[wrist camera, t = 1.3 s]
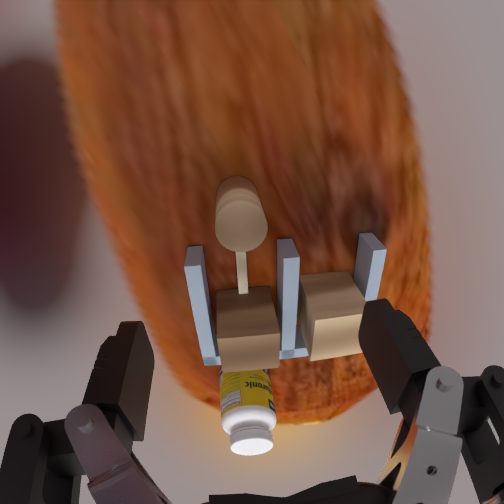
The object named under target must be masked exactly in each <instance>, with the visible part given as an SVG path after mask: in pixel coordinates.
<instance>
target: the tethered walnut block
mask: <svg viewBox="0 0 504 504" xmlns="http://www.w3.org/2000/svg"><path fill="white" fill-rule="evenodd" d="M267 230H268V226H267V221H266V218H265V215H264V212H263V209H262V206H261V203H260V200H259V197H258V194H257V191H256V188H255V186H254V184H253V183H252V182H251V181H250V180H249V179H247V178H245V177H242V176H232V177H229V178H227V179H225V180H224V181H223V182H222V183H221V184H220V185H219V187H218V189H217V196H216V221H215V232H216V236H217V239H218V241H219V242H220V243H221V244H222V245H223V246H224V247H225V248H227V249H229V250H231V251H235V252H236V265H237V277H238V289H226V290H217V342H218V348H219V354H220V360H221V366H222V371H223V373H224V372H237V371H249V370H260V369H269V368H278V367H279V357H280V330H279V326H278V322H277V317H276V313H275V309H274V304H273V300H272V296H271V292H270V287H269V286H262V287H251V288H248V280H247V263H246V252H247V251H250V250H253V249H255V248H256V247H258V246H259V245H260V244H261V243H262V242H263V241H264V239H265V237H266V235H267Z"/></svg>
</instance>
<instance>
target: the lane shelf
mask: <svg viewBox="0 0 504 504" xmlns="http://www.w3.org/2000/svg"><path fill="white" fill-rule="evenodd" d="M386 251H387V249H386V248H385V247H384V246H383V245H382V243H381V242H380V241H379V240H378V239H377V238H376V237H375V236H374V235H373V234H372V233H360V234H359V241H358V249H357V256H356V263H355V270H354V276H353V281H354V282H355V284H356V285H357V287H358V289H359V290H360V292H361V294H362V295H363V297H364V299H365V301H366V302H367V301H371V300H376V299H377V295H378V290H379V286H380V281H381V276H382V271H383V266H384V261H385V256H386ZM299 264H300V256H299V254H298V252H297V250H296V247H295V245H294V243H293V240H292V239H278V240H277V322H278V326H279V330H280V357H279V359H287V358H295V357H302V356H309V355H308V352H307V348H306V345H305V342H304V339H303V335H302V332H301V329H300V326H297V327H296V320H297V304H298V285H299ZM184 269H185V274H186V280H187V285H188V290H189V295H190V300H191V305H192V310H193V315H194V320H195V325H196V330H197V334H198V339H199V343H200V348H201V352H202V357H203V361H204V365H205V366H209V365H221V360H220V354H219V348H218V342H217V334H215V328H214V321H213V315H212V309H211V302H210V296H209V289H208V282H207V275H206V268H205V261H204V254H203V246H191V247H188V248H187V253H186V259H185V265H184Z"/></svg>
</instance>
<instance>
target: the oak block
mask: <svg viewBox="0 0 504 504" xmlns="http://www.w3.org/2000/svg"><path fill="white" fill-rule="evenodd" d="M365 303H366V301H365V299H364V297H363V295H362V294H361V292H360V290H359V289H358V287H357V285H356V284H355V282H354V281H353V279H352V277H351V276H350V274H349V272H348V271H337V272H327V273H317V274H307V275H299V285H298V304H297V319H298V322H299V325H300V329H301V332H302V335H303V339H304V342H305V345H306V348H307V352H308V355H309V358H310V361H314V360H321V359H327V358H333V357H339V356H345V355H351V354H356V353H362V350H361V347H360V345H359V339H358V332H359V327H360V323H361V319H362V314H363V310H364V305H365Z"/></svg>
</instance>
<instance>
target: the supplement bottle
mask: <svg viewBox="0 0 504 504" xmlns="http://www.w3.org/2000/svg"><path fill="white" fill-rule="evenodd" d="M220 403H221V423H222V427H223V429H224V430H225V432H227V433H228V434H230V448H231V450H232V451H233V452H234V453H236V454H240V455H258V454H262V453H265V452H267V451H269V450H270V449H271V448H272V447H273V438H272V434H271V430H272V429H273V428H274V426H275V424H276V412H275V407H274V401H273V395H272V390H271V384H270V378H269V372H268V369H260V370H249V371H237V372H224V373H223V371H222V368H221V371H220Z"/></svg>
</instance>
